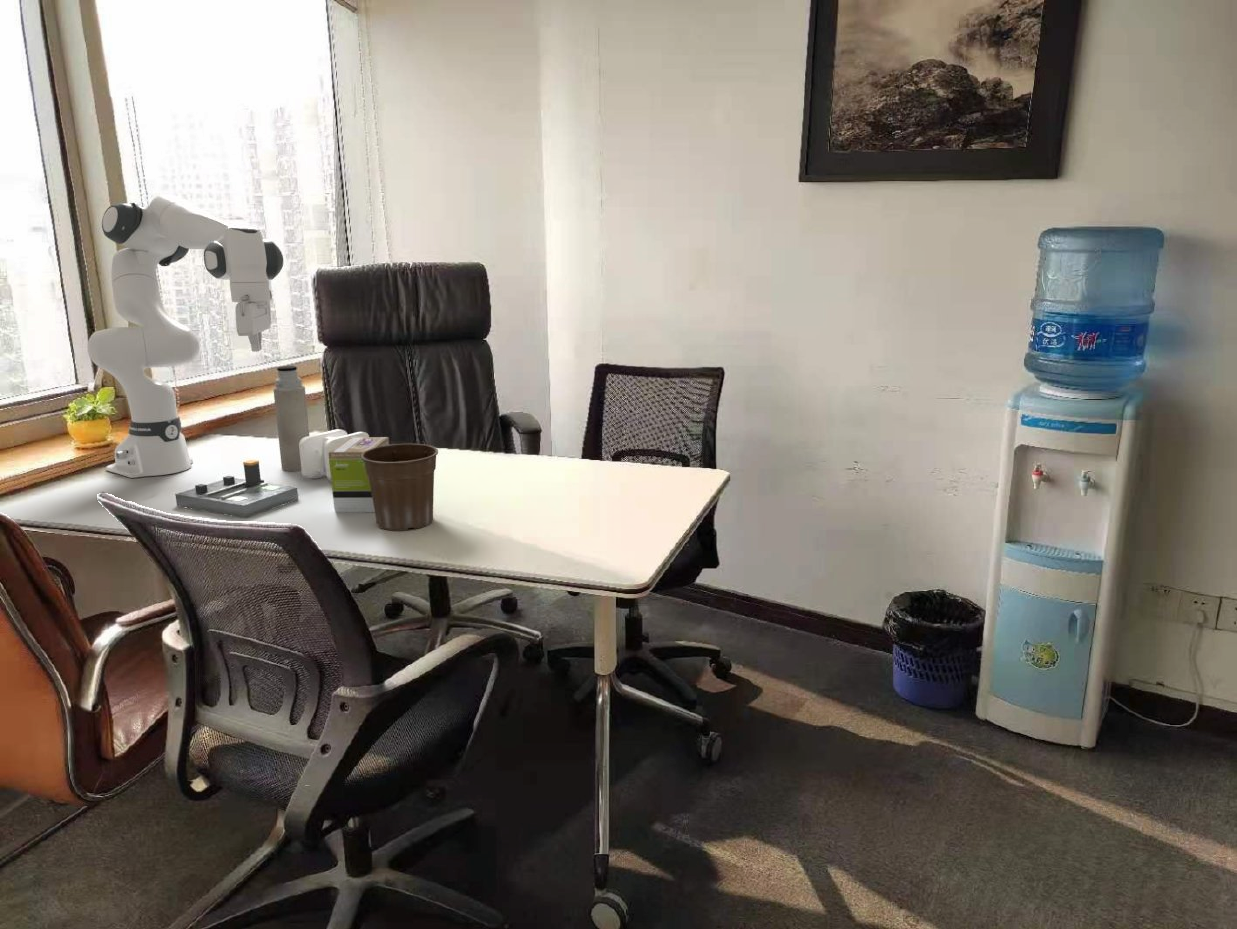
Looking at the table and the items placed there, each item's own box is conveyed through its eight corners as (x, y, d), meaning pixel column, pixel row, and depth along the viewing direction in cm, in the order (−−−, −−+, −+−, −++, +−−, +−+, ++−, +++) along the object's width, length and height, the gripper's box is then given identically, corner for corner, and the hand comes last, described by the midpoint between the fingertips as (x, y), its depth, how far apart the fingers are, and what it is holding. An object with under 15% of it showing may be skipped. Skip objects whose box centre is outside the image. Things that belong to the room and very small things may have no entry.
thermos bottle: (300, 462, 241) (290, 363, 234) (318, 466, 237) (309, 365, 230) (275, 468, 234) (264, 367, 227) (294, 472, 230) (283, 369, 223)
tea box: (354, 494, 210) (349, 435, 206) (395, 494, 210) (390, 436, 206) (332, 513, 196) (327, 450, 192) (376, 513, 195) (371, 450, 192)
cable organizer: (329, 486, 217) (325, 442, 214) (300, 480, 222) (296, 437, 219) (372, 473, 230) (369, 430, 227) (345, 468, 235) (341, 426, 232)
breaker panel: (176, 506, 201) (174, 487, 200) (232, 489, 215) (230, 471, 214) (245, 518, 192) (243, 498, 191) (298, 499, 206) (296, 480, 205)
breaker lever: (242, 485, 206) (240, 462, 204) (255, 481, 209) (253, 459, 208) (251, 486, 205) (248, 463, 203) (264, 482, 208) (261, 460, 207)
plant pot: (425, 536, 179) (420, 462, 175) (353, 532, 182) (347, 459, 178) (452, 513, 195) (449, 444, 191) (386, 510, 198) (381, 442, 194)
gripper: (254, 296, 198) (260, 355, 202) (273, 291, 218) (278, 346, 221) (225, 296, 197) (232, 356, 201) (246, 292, 217) (252, 346, 220)
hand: (256, 350), depth 211 cm, fingers closed
